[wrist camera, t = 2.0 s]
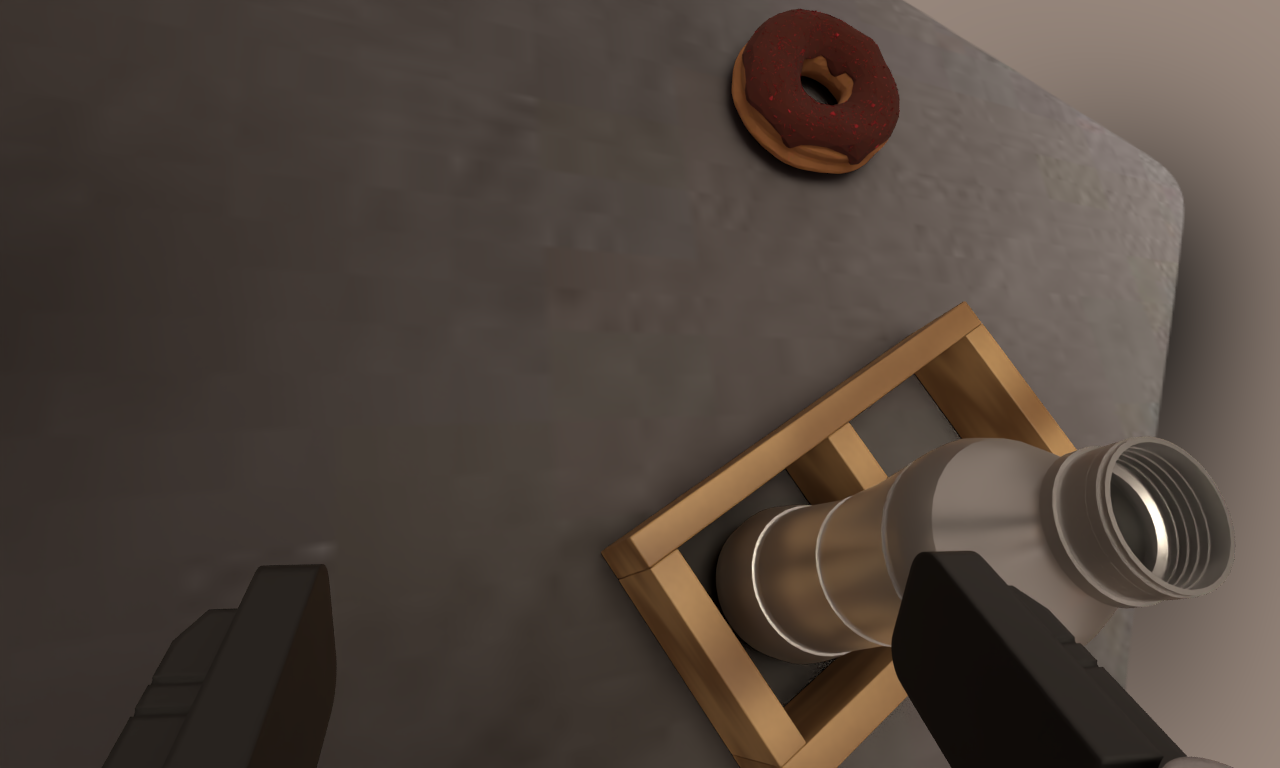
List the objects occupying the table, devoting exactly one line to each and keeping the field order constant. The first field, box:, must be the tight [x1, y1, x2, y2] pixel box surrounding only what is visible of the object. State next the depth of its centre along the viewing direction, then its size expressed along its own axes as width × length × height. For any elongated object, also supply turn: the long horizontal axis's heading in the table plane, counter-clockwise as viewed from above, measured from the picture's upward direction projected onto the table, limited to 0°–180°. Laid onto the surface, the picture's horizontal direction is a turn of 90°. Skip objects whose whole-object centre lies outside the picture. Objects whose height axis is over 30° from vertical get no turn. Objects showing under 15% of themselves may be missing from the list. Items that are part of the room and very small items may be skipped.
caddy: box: [601, 302, 1076, 768], centre depth 35 cm, size 11×21×4 cm, turn 126°
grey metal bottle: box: [716, 437, 1235, 664], centre depth 26 cm, size 6×7×20 cm
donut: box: [732, 9, 900, 174], centre depth 44 cm, size 10×10×4 cm
